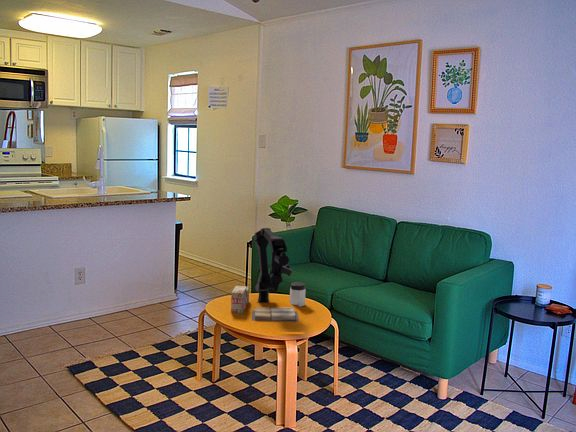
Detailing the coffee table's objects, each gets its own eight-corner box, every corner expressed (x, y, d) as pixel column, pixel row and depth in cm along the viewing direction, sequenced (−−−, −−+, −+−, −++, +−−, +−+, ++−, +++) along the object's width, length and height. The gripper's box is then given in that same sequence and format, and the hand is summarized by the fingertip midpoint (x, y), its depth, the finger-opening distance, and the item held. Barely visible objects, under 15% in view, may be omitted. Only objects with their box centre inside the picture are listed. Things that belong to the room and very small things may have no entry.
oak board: (255, 310, 292) (255, 307, 291) (270, 311, 292) (270, 307, 292) (254, 319, 278) (254, 316, 277) (270, 320, 278) (270, 316, 278)
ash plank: (271, 311, 292) (271, 307, 292) (293, 310, 293) (293, 307, 292) (271, 320, 278) (271, 316, 278) (295, 319, 279) (295, 316, 278)
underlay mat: (252, 312, 293) (252, 310, 293) (297, 313, 294) (297, 311, 294) (251, 322, 277) (251, 320, 277) (299, 323, 278) (299, 321, 278)
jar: (288, 302, 312) (289, 281, 310) (302, 301, 314) (303, 281, 312) (292, 307, 303) (292, 286, 302) (306, 306, 305) (307, 285, 304)
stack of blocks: (237, 302, 309) (238, 281, 307) (248, 302, 309) (249, 281, 307) (230, 314, 288) (231, 291, 286) (242, 315, 287) (243, 292, 286)
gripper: (292, 266, 282) (291, 295, 285) (290, 257, 301) (289, 285, 303) (271, 265, 282) (269, 294, 284) (270, 257, 300) (269, 284, 302)
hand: (275, 289), depth 293 cm, fingers open, 9 cm apart
